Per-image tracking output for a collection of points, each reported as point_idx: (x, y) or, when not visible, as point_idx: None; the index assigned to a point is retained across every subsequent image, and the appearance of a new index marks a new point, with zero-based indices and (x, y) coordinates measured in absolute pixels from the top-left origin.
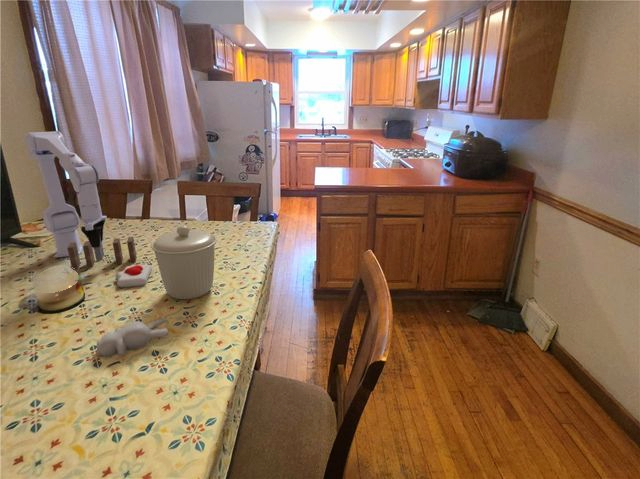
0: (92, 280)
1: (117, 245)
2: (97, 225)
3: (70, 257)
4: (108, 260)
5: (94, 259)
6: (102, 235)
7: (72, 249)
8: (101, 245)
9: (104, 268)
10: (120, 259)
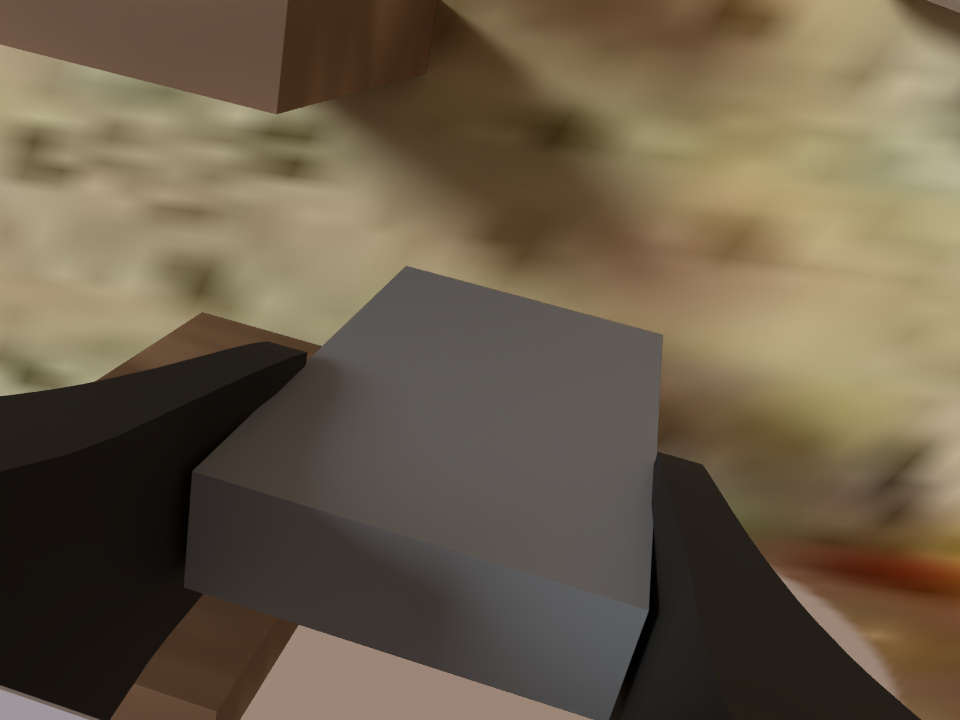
0: (829, 425)
1: (315, 13)
2: (12, 649)
3: (281, 641)
4: (221, 157)
5: (191, 326)
6: (234, 381)
7: (231, 690)
8: (409, 360)
9: (493, 243)
10: (417, 3)
